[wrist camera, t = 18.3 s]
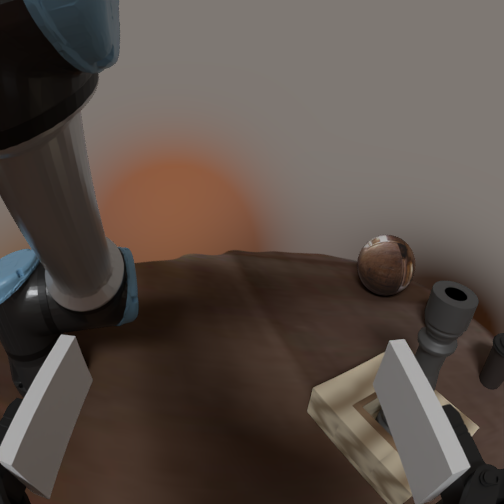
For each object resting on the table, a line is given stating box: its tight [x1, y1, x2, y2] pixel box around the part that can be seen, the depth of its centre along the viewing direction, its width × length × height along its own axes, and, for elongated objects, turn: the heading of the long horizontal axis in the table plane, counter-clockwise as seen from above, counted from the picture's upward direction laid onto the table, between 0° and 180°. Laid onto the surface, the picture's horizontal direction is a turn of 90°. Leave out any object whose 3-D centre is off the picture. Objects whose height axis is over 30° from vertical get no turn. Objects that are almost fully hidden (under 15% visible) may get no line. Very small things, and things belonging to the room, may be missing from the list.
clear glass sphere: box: [357, 235, 415, 296], centre depth 74 cm, size 15×15×15 cm
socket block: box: [307, 352, 479, 504], centre depth 38 cm, size 22×16×6 cm
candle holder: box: [375, 281, 478, 436], centre depth 34 cm, size 6×6×25 cm
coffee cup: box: [480, 333, 504, 389], centre depth 44 cm, size 8×8×10 cm
